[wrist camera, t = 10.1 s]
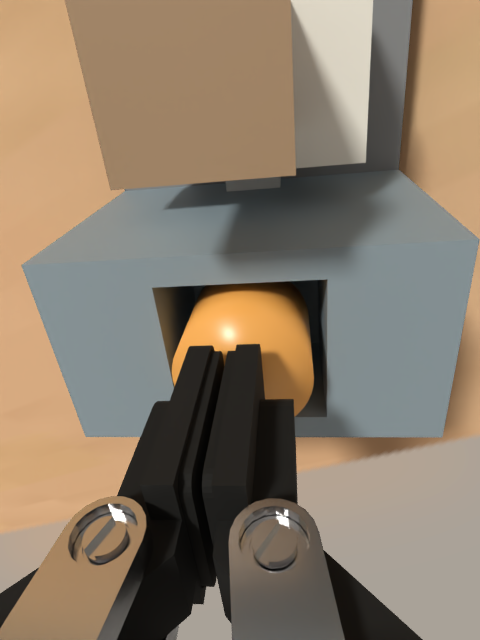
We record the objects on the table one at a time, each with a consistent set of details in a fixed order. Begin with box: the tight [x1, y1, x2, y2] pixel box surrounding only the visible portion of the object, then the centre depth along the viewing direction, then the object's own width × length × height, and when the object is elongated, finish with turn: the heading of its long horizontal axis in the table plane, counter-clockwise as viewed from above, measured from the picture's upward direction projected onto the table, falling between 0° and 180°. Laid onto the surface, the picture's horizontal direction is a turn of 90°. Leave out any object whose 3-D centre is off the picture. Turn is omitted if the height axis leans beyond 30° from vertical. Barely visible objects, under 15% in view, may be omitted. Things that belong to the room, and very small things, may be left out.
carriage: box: [65, 0, 373, 190], centre depth 10 cm, size 7×5×10 cm
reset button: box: [172, 281, 314, 417], centre depth 12 cm, size 4×4×3 cm
